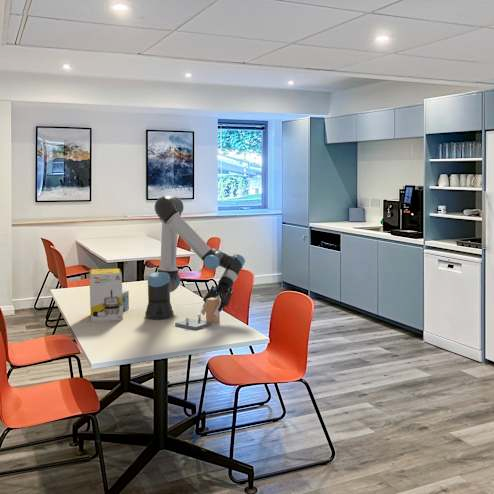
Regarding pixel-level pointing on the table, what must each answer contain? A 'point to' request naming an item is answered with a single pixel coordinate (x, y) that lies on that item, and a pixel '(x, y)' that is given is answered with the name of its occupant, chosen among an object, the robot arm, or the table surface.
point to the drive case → (212, 310)
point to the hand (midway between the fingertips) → (208, 314)
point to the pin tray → (193, 323)
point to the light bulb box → (125, 300)
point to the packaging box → (106, 294)
